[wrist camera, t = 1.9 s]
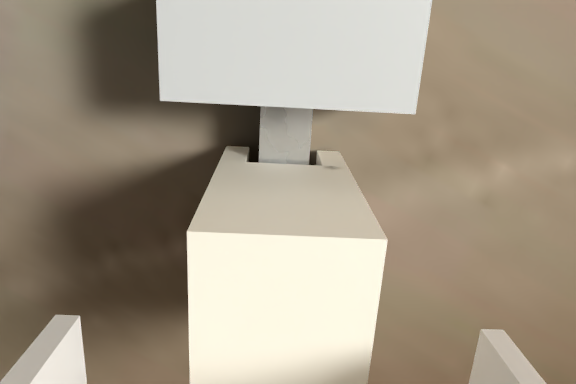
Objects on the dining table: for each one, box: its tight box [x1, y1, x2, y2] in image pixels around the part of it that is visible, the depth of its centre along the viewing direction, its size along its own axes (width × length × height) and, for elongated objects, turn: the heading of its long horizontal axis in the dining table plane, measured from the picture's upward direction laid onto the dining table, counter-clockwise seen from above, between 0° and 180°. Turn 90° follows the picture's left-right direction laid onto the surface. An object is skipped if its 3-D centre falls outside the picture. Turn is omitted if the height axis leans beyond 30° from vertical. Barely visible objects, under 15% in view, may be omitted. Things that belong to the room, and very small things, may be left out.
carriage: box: [187, 146, 388, 384], centre depth 20 cm, size 8×6×11 cm
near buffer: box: [156, 0, 432, 114], centre depth 19 cm, size 5×10×6 cm, turn 87°
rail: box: [259, 106, 313, 165], centre depth 26 cm, size 26×2×3 cm, turn 177°
